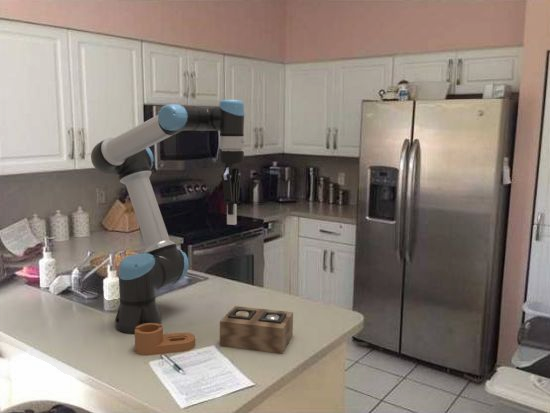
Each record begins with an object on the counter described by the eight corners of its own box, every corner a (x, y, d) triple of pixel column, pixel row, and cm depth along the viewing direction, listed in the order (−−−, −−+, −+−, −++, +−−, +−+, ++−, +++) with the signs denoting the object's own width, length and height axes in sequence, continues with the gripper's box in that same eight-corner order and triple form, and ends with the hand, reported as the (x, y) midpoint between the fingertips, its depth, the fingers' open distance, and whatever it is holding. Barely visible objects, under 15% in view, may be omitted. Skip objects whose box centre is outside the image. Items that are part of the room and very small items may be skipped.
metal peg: (264, 342, 156) (264, 318, 155) (267, 337, 160) (268, 313, 159) (276, 344, 155) (277, 319, 154) (280, 339, 159) (280, 315, 158)
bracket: (135, 357, 147) (134, 334, 146) (135, 345, 155) (134, 324, 153) (196, 350, 152) (196, 329, 150) (193, 339, 159) (193, 319, 158)
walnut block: (219, 345, 155) (219, 319, 153) (234, 328, 168) (234, 304, 167) (282, 353, 150) (282, 326, 148) (292, 335, 163) (293, 310, 162)
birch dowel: (234, 338, 159) (234, 314, 157) (238, 334, 162) (238, 310, 161) (246, 340, 158) (246, 316, 156) (250, 335, 161) (250, 311, 160)
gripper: (236, 151, 149) (236, 228, 152) (249, 149, 161) (249, 221, 165) (212, 150, 151) (213, 227, 154) (227, 149, 163) (227, 220, 167)
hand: (231, 224), depth 160 cm, fingers closed
